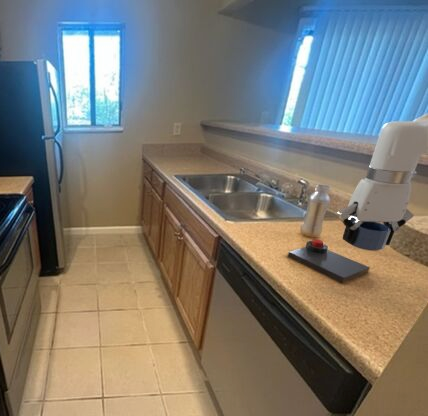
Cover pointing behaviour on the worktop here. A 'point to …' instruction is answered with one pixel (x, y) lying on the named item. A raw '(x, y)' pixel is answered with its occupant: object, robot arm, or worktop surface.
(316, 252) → the scale
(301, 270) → the worktop surface
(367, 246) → the cup
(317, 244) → the button
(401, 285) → the worktop surface
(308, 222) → the silver bottle
